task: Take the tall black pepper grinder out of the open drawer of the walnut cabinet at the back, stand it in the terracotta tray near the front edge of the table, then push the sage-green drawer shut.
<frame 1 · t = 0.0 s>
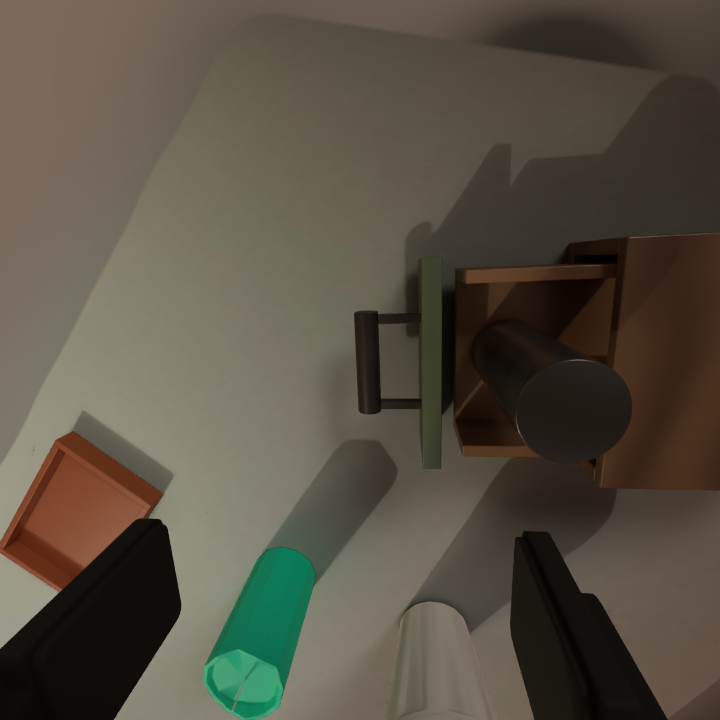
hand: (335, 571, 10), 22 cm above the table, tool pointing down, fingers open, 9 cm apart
cabinet: (673, 342, 29), on the table
tray: (85, 516, 39), on the table
candle: (285, 572, 38), on the table
drawer: (496, 357, 27), point 4 cm above the table, slide at 9.5 cm, touching grinder
grinder: (504, 351, 29), point 2 cm above the table, touching drawer
cup: (432, 623, 38), on the table
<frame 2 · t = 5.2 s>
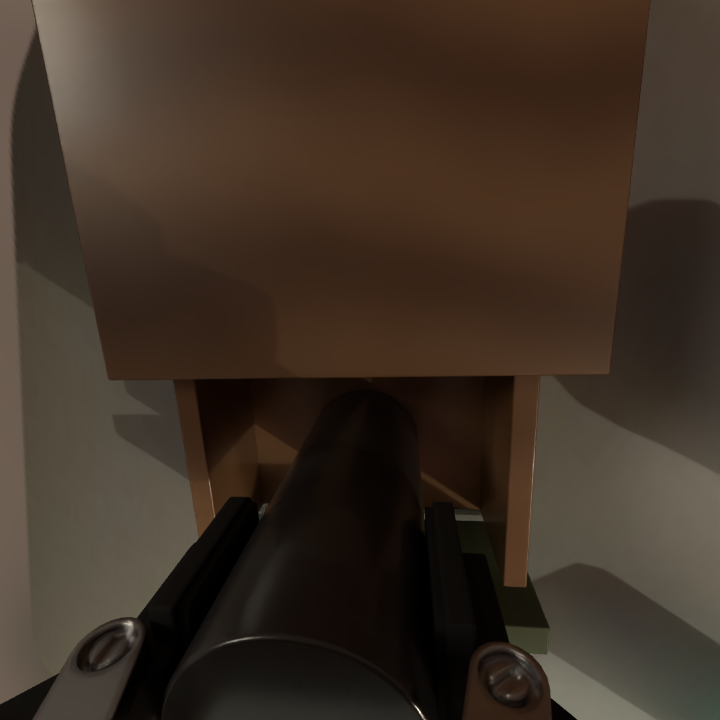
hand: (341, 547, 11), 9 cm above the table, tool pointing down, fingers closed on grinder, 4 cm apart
cabinet: (358, 153, 17), on the table
drawer: (362, 479, 17), point 4 cm above the table, slide at 9.5 cm, touching grinder
grinder: (365, 439, 18), point 2 cm above the table, touching drawer, gripper
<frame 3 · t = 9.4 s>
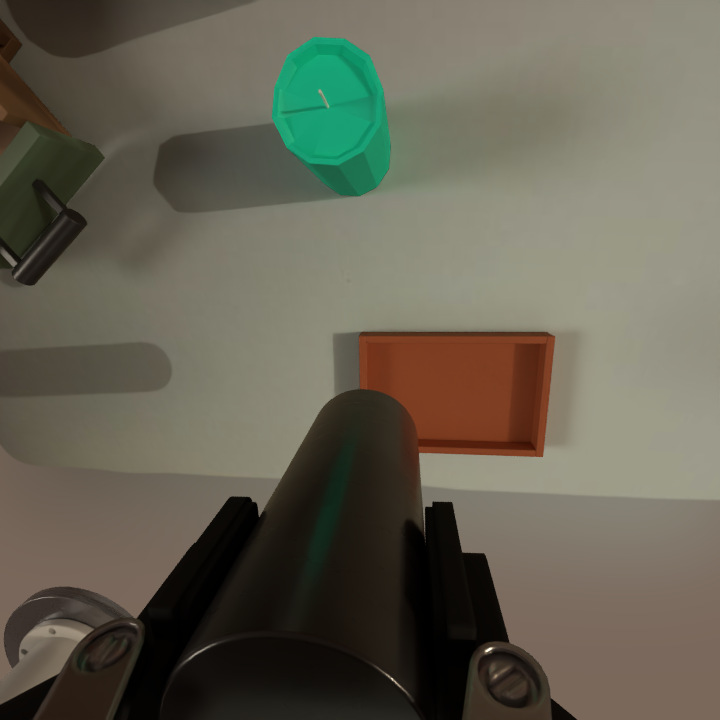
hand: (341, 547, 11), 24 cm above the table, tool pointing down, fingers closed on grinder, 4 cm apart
tray: (449, 390, 34), on the table
candle: (352, 156, 31), on the table
grinder: (364, 438, 18), point 17 cm above the table, touching gripper
when the fingers open (7 cm above the table, at t = 13.9 s): grinder stays where it is, resting on tray.
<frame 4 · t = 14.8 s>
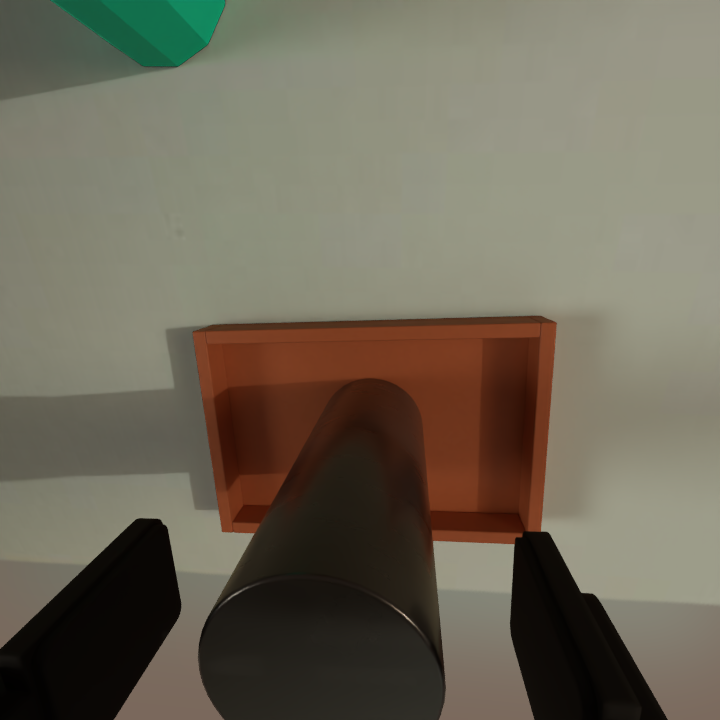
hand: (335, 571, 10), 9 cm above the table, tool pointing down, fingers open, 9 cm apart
tray: (372, 423, 19), on the table
grinder: (372, 425, 19), resting on tray
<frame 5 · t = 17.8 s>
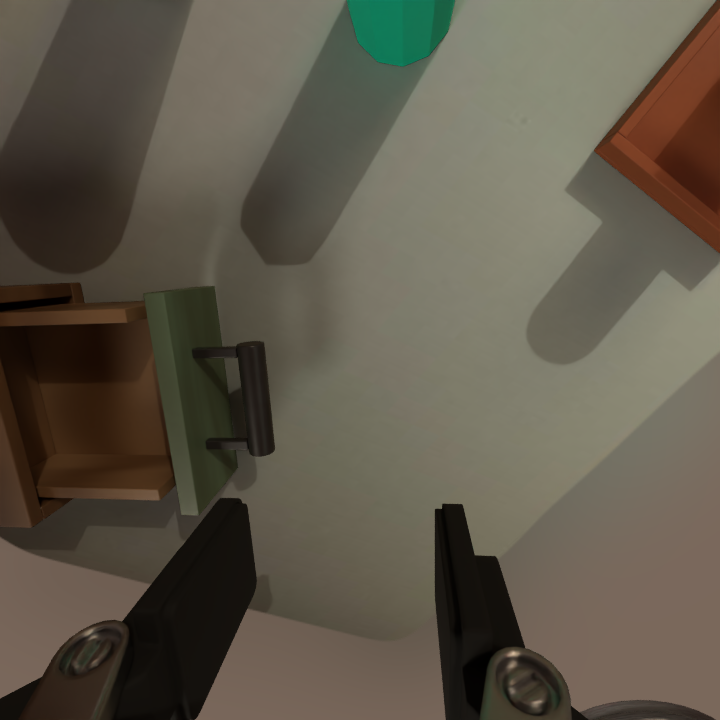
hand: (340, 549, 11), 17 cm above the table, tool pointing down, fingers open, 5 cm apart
cabinet: (10, 380, 31), on the table
candle: (401, 8, 23), on the table
drawer: (134, 395, 26), point 4 cm above the table, slide at 9.5 cm
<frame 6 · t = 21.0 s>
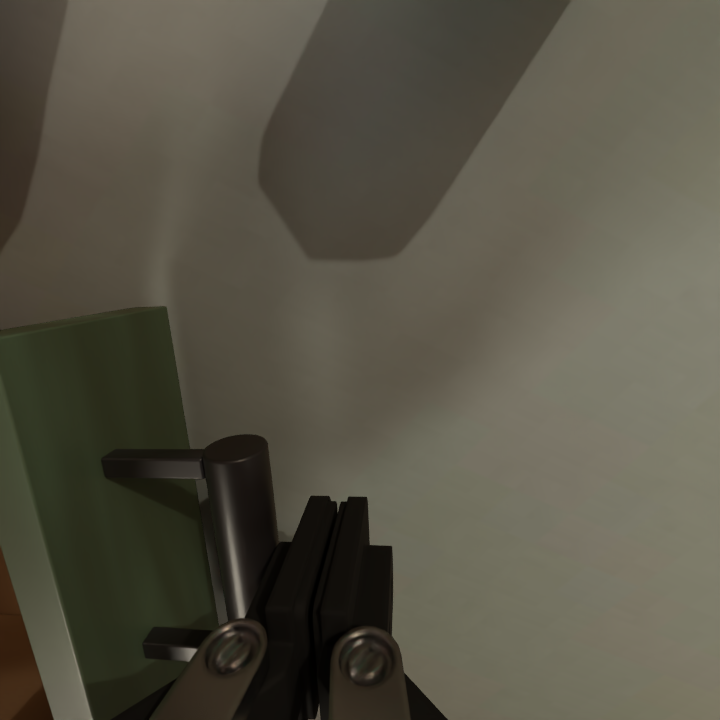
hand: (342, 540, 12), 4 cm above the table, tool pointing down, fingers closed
drawer: (0, 534, 13), point 4 cm above the table, slide at 8.1 cm, touching gripper
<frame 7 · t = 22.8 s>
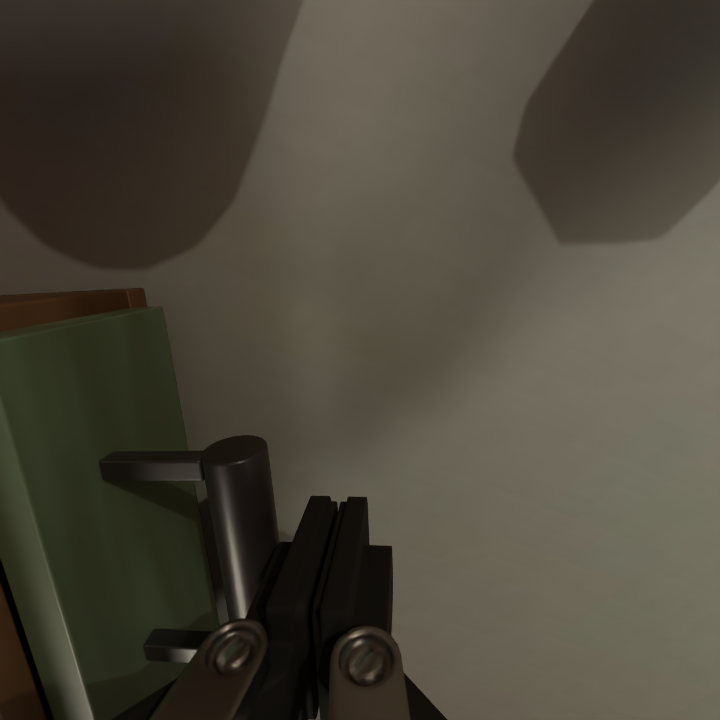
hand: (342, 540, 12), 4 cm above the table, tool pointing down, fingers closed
cabinet: (3, 473, 17), on the table
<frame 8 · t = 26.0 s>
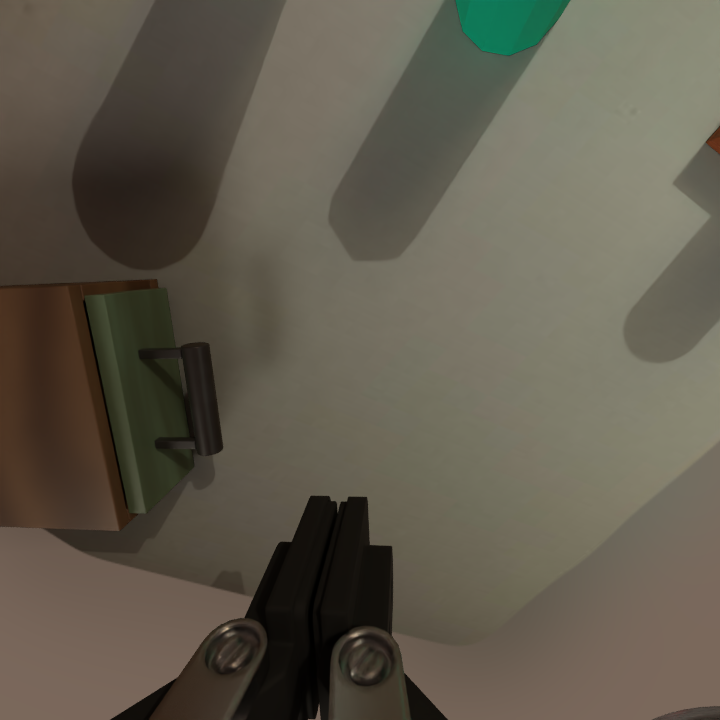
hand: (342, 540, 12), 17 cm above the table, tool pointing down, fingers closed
cabinet: (78, 379, 31), on the table
drawer: (86, 396, 27), point 4 cm above the table, slide at 0.0 cm, touching cabinet
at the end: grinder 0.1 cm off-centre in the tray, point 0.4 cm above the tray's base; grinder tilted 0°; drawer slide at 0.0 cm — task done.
